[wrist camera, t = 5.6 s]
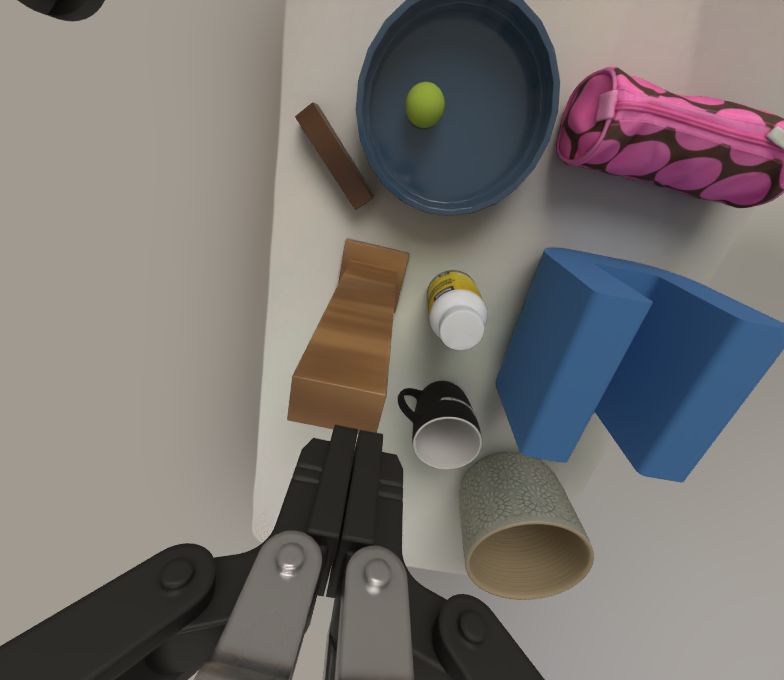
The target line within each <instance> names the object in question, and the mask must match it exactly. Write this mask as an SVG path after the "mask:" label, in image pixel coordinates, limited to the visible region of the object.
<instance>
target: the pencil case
mask: <svg viewBox="0 0 784 680" xmlns="http://www.w3.org/2000/svg"><path fill="white" fill-rule="evenodd" d="M557 153H558V155H559V157H560V159H561V160H562V161H563V162H564V163H565V164H567V165H571V166H580V167H584V168H588V169H593V170H598V171H601V172H604V173H608V174H612V175H619V176H624V177H626V178H629V179H633V180H639V181H648V182H650V183H653V184H655V185H657V186H659V187H666V188H670V189H672V190H675V191H678V192H680V193H683V194H686V195H689V196H692V197H695V198H699V199H705V200H711V201H715V202H719V203H723V204H726V205H729V206H733V207H736V208H748V207H753V206H758V205H762V204H765V203H768V202H770V201H773V200H774V199H776V198H778V197H779V196H780V195H782V194H783V193H784V118H781V117H779V116H777V115H774V114H772V113H770V112H766V111H762V110H757V109H754V108H751V107H748V106H745V105H742V104H738V103H733V102H729V101H723V100H719V99H714V98H709V97H703V96H682V95H676V94H674V93H671V92H669V91H666V90H664V89H662V88H660V87H658V86H656V85H654V84H652V83H650V82H648V81H645V80H643V79H640V78H638V77H634V76H629V75H627V74H626V73H625V72H623V71H622V70H620V69H619V68H616V67H607V68H604V69H602V70H599V71H596V72H594V73H592V74H591V75H589V76H588V77H586V78H585V79H584V80H583V81H582V82H581V83H580V84H579V85H578V86H577V87H576V89H575V90H574V91H573V93H572V95H571V96H570V98H569V101H568V103H567V106H566V109H565V112H564V114H563V118H562V122H561V126H560V134H559V137H558V141H557Z"/></svg>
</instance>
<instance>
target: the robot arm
mask: <svg viewBox="0 0 784 680" xmlns="http://www.w3.org/2000/svg"><path fill="white" fill-rule="evenodd" d="M357 433H358V429H355V428H351V427H346V426H341V425H336V424H335V426H334V429H333V433H332V437H331V441H326V440H321V439H316V438H313V439H312V440H311V441H310V442H309V443H308V444H307V445H306V446H305V447H304V448H303V449H302V451H301V454H300V456H299V459H298V462H297V466H296V468H295V471H294V474H293V477H292V479H291V482H290V485H289V488H288V491H287V494H286V496H285V499H284V502H283V505H282V508H281V511H280V514H279V516H278V519H277V522H276V525H275V527H274V530H273V531H272V533H271V535H270V536H269V537H268V538H267V539H266V540H265V541H264V542H263V543H262V544H261V545H259V546H258V547H256V548H254V549H252V550H250V551H248V552H245V553H241V554H236V555H229V556H223V557H215V558H213V556H212V554H211V553H210V552H209V551H208V550H207V549H206V548H204V547H202V546H200V545H197V544H188V543H187V544H179V545H175V546H172V547H169V548H167V549H165V550H163V551H161V552H159V553H158V554H156V555H154V556H153V557H151V558H150V559H147V560H146V561H144V562H142V563H141V564H139V565H137V566H136V567H134V568H132V569H131V570H129V571H127V572H125V573H124V574H122V575H120V576H119V577H117V578H115V579H114V580H112V581H110V582H108V583H107V584H105V585H103V586H102V587H100V588H98V589H97V590H95V591H94V592H91V593H90V594H88V595H86V596H85V597H83V598H81V599H80V600H78V601H76V602H75V603H73V604H71V605H70V606H68V607H66V608H64V609H63V610H61V611H59V612H57V613H56V614H54V615H53V616H51V617H49V618H47V619H46V620H44V621H42V622H41V623H39V624H37V625H35V626H34V627H32V628H31V629H29V630H27V631H25V632H24V633H22V634H20V635H19V636H17V637H15V638H13V639H12V640H10V641H8V642H7V643H5V644H3V645H1V646H0V680H188V679H189V678H190V677H191V676H192V675H194V674H195V673H196V672H197V671H198V670H199V671H198V673H197V675H196V676H195V678H194V680H292V677H293V674H294V670H295V667H296V663H297V660H298V656H299V652H300V649H301V645H302V642H303V638H304V635H305V633H306V631H307V629H308V627H309V625H310V621H311V618H312V614H313V610H314V606H315V602H316V598H317V595H319V596H324V592H325V588H326V584H327V581H328V577H329V573H330V569H331V573H330V578H329V584H328V589H327V594H326V597H331V598H335V600H334V606H333V612H332V619H331V623H330V626H329V630H328V634H327V642H326V652H325V662H324V672H323V680H545V679H544V678H543V677H542V676H541V674H540V673H539V672H538V670H537V669H536V668H535V666H534V665H533V664H532V662H531V661H530V660H529V659H528V657H527V656H526V655H525V654H524V652H523V651H522V649H521V648H520V647H519V646H518V644H517V643H516V642H515V640H514V639H513V638H512V636H511V635H510V634H509V633H508V631H507V630H506V629H505V628H504V626H503V625H502V623H501V622H500V621H499V620H498V618H497V617H496V616H495V614H494V613H493V612H492V611H491V609H490V608H489V607H488V606H487V605H486V604H485V603H483V602H482V601H481V600H479V599H477V598H475V597H473V596H470V595H466V594H458V595H455V596H452V597H450V598H449V599H448V600H446V599H444V598H443V597H441V596H439V595H437V594H436V593H434V592H432V591H430V590H429V589H427V588H425V587H423V586H422V585H421V584H420V583H418V582H417V581H416V580H415V579H414V578H413V577H412V575H411V574H410V573H409V571H408V569H407V567H406V565H405V563H404V560H403V555H402V514H403V501H402V499H403V468H402V466H401V463H400V461H399V459H398V457H397V455H395V454H390V453H385V452H382V444H383V434H380V433H375V432H370V431H366V430H361V429H360V431H359V434H358V438H357ZM356 438H357V442H356ZM355 444H356V446H355ZM331 566H332V567H331Z"/></svg>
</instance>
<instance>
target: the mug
mask: <svg viewBox="0 0 784 680" xmlns="http://www.w3.org/2000/svg"><path fill="white" fill-rule="evenodd" d="M404 395H411V396H413V397H415V398H416V400H417V404H416V408H415V412H413V411H412V410H411V409H410V408H409V406H408V405H407V404H406V402H405V399H404ZM398 404H399V407H400V409H401V411H402V412H403V413H404V414H405V415H406V417H408V418H409V419H410V420H411V421H412V422H413V436H412V441H413V449H414V452H415V454H416V455H417V457H418V458H419V459H420V460H421V461H422V462H423V463H425V464H427V465H429V466H431V467H434V468H438V469H456V468H460V467H462V466H465V465H467V464H468V463H470V462H471V461H473V460H474V459H475V458H476V457H477V455H478V454H479V452H480V450H481V447H482V436H481V432H480V428H479V425H478V422H477V419H476V416H475V414H474V411H473V409H472V406H471V404H470V402H469V400H468V398H467V397H466V395H465V394H464V392H463V391H462V390H461V389H460V388H459V387H458V386H456V385H455V384H453V383H450V382H446V381H438V382H434V383H431V384H430V385H428V386H427V387H425V388H424V389H423V390H417V389H413V388H406V389H404V390H402V391H401V392H400V393H399V395H398Z"/></svg>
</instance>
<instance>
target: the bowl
mask: <svg viewBox="0 0 784 680" xmlns="http://www.w3.org/2000/svg"><path fill="white" fill-rule="evenodd" d="M421 82H430V83H433V84H435V85H436V86H438V87H439V89H440V90H441V91H442V93H443V96H444V100H445V108H444V112H443V115H442V117H441V119H440V120H439V121H438V122H437V123H436V124H435V125H434V126H432V127H429V128H419V127H416V126H415V125H413V124H412V123H411V122H410V120H409V119H408V117H407V115H406V111H405V102H406V98H407V95H408V93H409V91H410V90H411V89H412V88H413V87H414V86H415V85H417V84H419V83H421ZM559 89H560V78H559V72H558V66H557V60H556V55H555V50H554V47H553V45H552V42H551V40H550V38H549V36H548V34H547V32H546V29H545V27H544V25H543V23H542V21H541V20H540V19H539V17H538V16H537V15H536V14H535V13H534V12H533V11H532V9H531V8H530V7H529V6H528V5H527V4H526V3H525V2H524V0H406V1H405V2H404V3H403V4H401V5H400V6H399V7H398V8H397V9H396V10H395V11H394V12H393V13H392V14H391V15H390V16H389V17H388V18H387V19H386V20H385V22H384V23H383V25H382V27H381V28H380V30H379V31H378V33H377V35H376V36H375V38H374V40H373V41H372V43H371V45H370V46H369V48H368V51H367V54H366V57H365V60H364V63H363V67H362V70H361V73H360V76H359V80H358V90H357V102H356V115H357V122H358V130H359V137H360V141H361V144H362V146H363V149H364V151H365V154H366V157H367V159H368V162H369V164H370V166H371V168H372V169H373V171H374V172H375V173H376V175H377V176H378V178H379V179H380V180H381V182H382V183H383V185H384V186H385V187H386V188H387V189H388V190H389V191H391V192H392V193H393V194H394V195H395V196H397V197H398V198H399V199H400V200H401V201H403V202H404V203H406V204H408V205H410V206H412V207H415V208H417V209H419V210H421V211H423V212H426V213H433V214H439V215H446V216H451V215H460V214H468V213H473V212H476V211H478V210H481V209H483V208H486V207H488V206H491V205H494V204H496V203H497V202H499V201H500V200H501V199H503V198H504V197H505V196H507V195H508V194H510V193H511V192H512V191H514V190H515V189H516V188H518V186H519V185H520V184H521V183H522V182H523V181H524V180H525V178H526V177H527V176H528V175H529V174H530V173H531V172H532V170H533V169H534V168H535V167H536V165H537V163H538V161H539V159H540V158H541V156H542V154H543V152H544V150H545V149H546V147H547V145H548V143H549V141H550V137H551V134H552V130H553V127H554V124H555V120H556V117H557V113H558V104H559Z"/></svg>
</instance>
